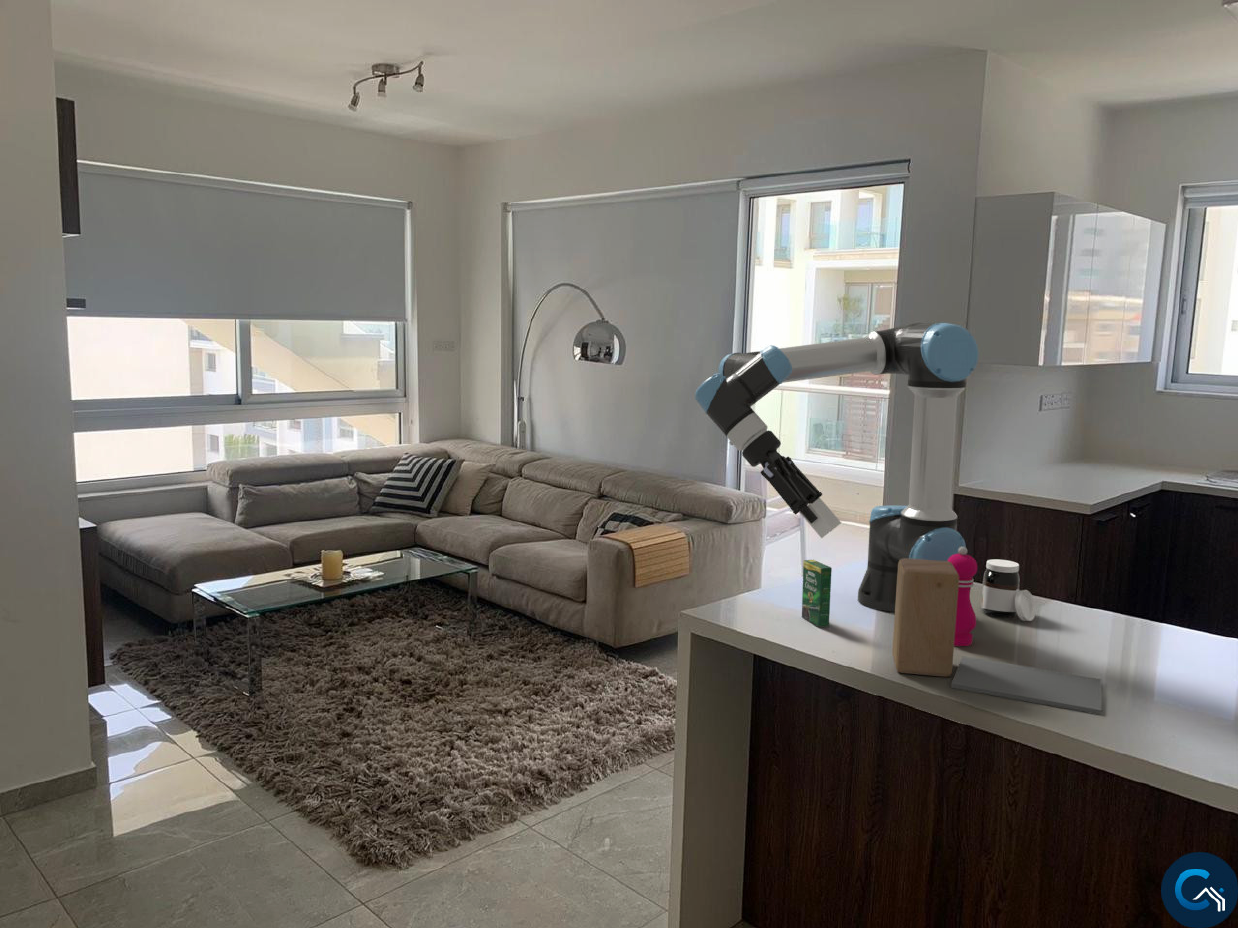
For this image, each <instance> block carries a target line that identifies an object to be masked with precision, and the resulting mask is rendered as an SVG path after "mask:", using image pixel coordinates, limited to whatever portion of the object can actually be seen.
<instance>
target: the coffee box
mask: <svg viewBox="0 0 1238 928" xmlns="http://www.w3.org/2000/svg"><path fill="white" fill-rule="evenodd" d="M802 561H803V562H802V565H803V568H802V593H801V595H802V598H801V601H802V602H801V617H802V618H803V619H804V620H806V621H808V622H810V623H811V624H813V626H815V627H817V628H828V627H829V626H830V611H831V610H830V609H831V588H832V572H833V571H832V567H831V566H828V565H826V564H824V563H822V562H819V561H817V560H816V559H805V560H802Z"/></svg>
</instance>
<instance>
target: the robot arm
mask: <svg viewBox="0 0 1238 928" xmlns="http://www.w3.org/2000/svg"><path fill="white" fill-rule="evenodd" d="M978 360H979V347H978V344H977V341H976V339H975V337H974V336H973V334H971V332H970V331H969V330H968V329H967V328H965V327H963V326H961V325H958V324H953V323H949V322H938V323H937V322H936V323H935V322H933V323H932V322H929V323H927V322H925V323H923V322H915V323H910V324H904V325H901V326H897V327H892V328H888V329H882V330H877V331H876V330H875V331H871V332H869V333H868V334H867V335H866V337H859V338H858V337H857V338H850V339H842V340H834V341H827V342H819V343H812V344H804V345H796V346H789V347H788V346H787V347H781V348H779V347H777V346H776V345H772V344H770V345H768V346H766V347H765V348H763V349H761V350H760V351H752V352H751V351H749V352H744V353H743V352H733V353H729V354H727V355H726V356H723V358H722V360H721V361H720V363H719V365H718V372H717V373H715V374H713V375H712V376H710V377H708V378H707V379H706V380H704V381H703V382H702V383H701V384H700V385H699V386H698V388H697V389H696V390H695V394H694V399H695V401H696V402H697V403H698V404H699V406H700V407H701V408H702V410H703V412H705V413H704V414H706V415H707V416H708V417H709V418H710V419H711V420H712V422H713V423H714V424H715V425H716V426H717V428H718V429H720V431H721V432H722V433H723V434H724V436H726V438H727V439H728V440H729V442H728V443H729V445H730V446H734V447H735V448H736V449H737V451H738V452H741V451H742V452H741V455H742V457H743V458H744V459H745V460H746V462H747V463H748V464H749V465H750V466H751V467H753V468H755V467H757V466H759V465H761V467H762V468H763V469H762V470H761V471H760V474H761V476H763V477H764V478H765V479H766V481H767V482H768V483H769V484H770V486H772V487H773V488H774V490H775V491H776V493H777V494H778V495H779V496H780V498H781V499H782V500H783V501H784V502H785V503H786V504H787V506H788V507H789V509H790V510H792V513H793V514H794V515H798V513H799V514H800V515H801V516H802V518H803V519H804V520H805V521H806V522H807V523H808V525H809V526H811V528H812V529H813V530H814V531H815V533H816V534H817V535H818V536H819V537H820V538H821V539H823V538H825V536H827V535H828V534H829V533H830V532H833V530H834V529H836V528H837V527H839V526H840V524H842V521H840V519H839V518H838V517H837V516H836V515H835V513H834V512H833V511H832V510H831V508H830V507H828V505H827V504H826V503H825V502H824V501H823V500H822V499H821V497H822V496H823V493H822V491H819V490H818V489H817V488H816V486H815V485H814V484H813V482H811V481H810V480H809V479H808V477H807V476H806V475H805V474H804V473H803V471H801V469H799V467H798V466H797V465H796V464H795V462H794V461H793V459H792V458H791V457H789V456H787V457H786V456H784V455H781V454H780V453H779V452H778V449H779V448H780V447H781V445H782V442H781V440H780V438H778V437H777V436H776V434H774V432H772V430H768V425H767V424H766V423H765V421H764V420H763V419H762V418H761V417H760V416H759V415H758V414H757V412H756V411H755V410H753V408H752V406H754V405H756V404H757V402H759V401H761V399H763V398H764V397H765V396H766V395H768V394H769V393H770V392H772V391H773V390H774V389H775V388H777V387H778V386H779V385H781V384H783V383H790V382H791V383H792V382H800V381H805V380H813V379H822V378H829V377H836V376H844V375H845V376H846V375H853V374H858V373H859V374H860V373H866V372H870V374H873V376H874V375H875V376H878V375H886V374H887V375H889V374H890V375H891V374H892V375H893V374H894V375H903V376H907V388H908V389H909V390H910V391H911V392H912V393H913V395H914V402H913V404H914V405H913V422H912V435H911V436H912V438H911V439H912V440H911V456H910V457H911V458H910V475H909V476H910V477H909V490H908V491H909V495H908V505H890V504H889V505H878V506H875V507H873V508H872V509H871V512H870V516H869V517H870V518H869V522H868V523H869V529H868V530H869V531H868V532H869V533H868V549H867V551H868V552H867V565H866V566H867V567H866V570H865V573H864V575H863V578H862V581H861V583H860V585H859V588H858V591H857V601H858V603H860V604H861V605H863V606H865V607H868V608H870V609H871V608H872V609H876V610H880V611H885V612H894V613H895V604H896V589H897V574H898V562H899V561H900V559H903V558H908V559H923V560H938V561H947V560H948V559H949V557H951V556H952V555H954V554H959V552H958V549H959V548H960V547H966V541H965V539H964V537H963V536H962V535H961V533H960V532H959V531H958V529H957V526H958V515H957V514H956V512H955V511H954V510H953V509H952V508H951V507H952V506H951V505H952V504H951V503H952V488H953V475H954V474H953V472H954V470H953V469H954V458H955V457H954V454H955V439H956V423H957V422H956V421H957V406H958V405H957V404H958V397H959V395H961V393H962V392H964V391H965V390H966V385H967V378H968V377H969V376H970V375H971V374H972V372H973V371H974V370H975V369H976V367H977V364H978V362H979V361H978ZM966 548H967V547H966Z"/></svg>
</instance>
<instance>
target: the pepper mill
mask: <svg viewBox="0 0 1238 928" xmlns="http://www.w3.org/2000/svg"><path fill="white" fill-rule="evenodd" d="M958 552H959V554H954V555H952V556H951V557H949V559H948V560H947V561H948V562H951V563H952V565H953V566H954V568H955V570H956V571H957V573H958V576H959V587H958V600H957V613H956V626H955V639H954V647H968V646H971V645H972V644H973V634H972V633H971V632H972V631H973V630H974V629H975V628H976V627H977V617H976V613H975V611H974V608H973V606H972V605H973V604H972V603H971V597H970V596H971V589H972V587H973V586H974V581H975V579H974V578H973V577H974V576H975V575H976V574H977V572H978V564H977V563H978V562H977V561H976V559H975V558H974V557H972V555H969V554H968V549H967V547H960V548H959V549H958Z"/></svg>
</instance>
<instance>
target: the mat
mask: <svg viewBox="0 0 1238 928" xmlns="http://www.w3.org/2000/svg"><path fill="white" fill-rule="evenodd" d="M950 688H952V689H957V690H961V691H962V690H963V691H968V692H972V693H979V694H982V695H983V694H984V695H990V696H995V697H1002V698H1007V699H1011V700H1018V701H1023V702H1029V703H1034V704H1035V703H1036V704H1039V705H1043V706H1044V705H1046V706H1051V707H1055V708H1057V707H1058V708H1061V709H1062V708H1063V709H1067V710H1074V711H1078V710H1079V711H1078V712H1083V711H1085V712H1084V713H1089V712H1091V713H1090V714H1094V713H1097V714H1096V715H1100V714H1101V715H1102V709H1103V708H1102V707H1103V706H1102V679H1101V678H1097V677H1090V676H1087V675H1086V676H1085V675H1079V674H1074V673H1073V674H1072V673H1067V672H1060V671H1055V670H1048V669H1043V668H1037V667H1031V666H1025V665H1018V664H1013V663H1006V662H1002V661H1001V662H1000V661H994V660H989V659H982V658H977V657H971V656H964V655H962V656H961V659H960V662H959V664H958V665H957V668H956V672H955V673H954V676H953V679H952V681H951V687H950Z"/></svg>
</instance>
